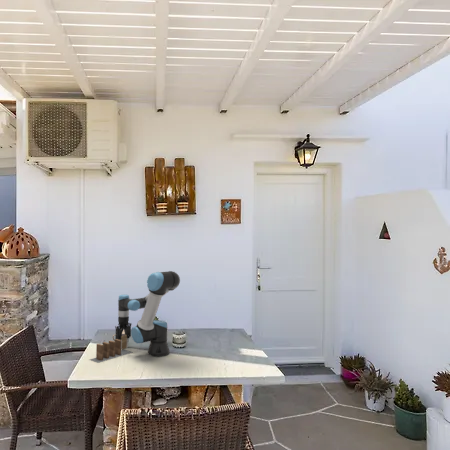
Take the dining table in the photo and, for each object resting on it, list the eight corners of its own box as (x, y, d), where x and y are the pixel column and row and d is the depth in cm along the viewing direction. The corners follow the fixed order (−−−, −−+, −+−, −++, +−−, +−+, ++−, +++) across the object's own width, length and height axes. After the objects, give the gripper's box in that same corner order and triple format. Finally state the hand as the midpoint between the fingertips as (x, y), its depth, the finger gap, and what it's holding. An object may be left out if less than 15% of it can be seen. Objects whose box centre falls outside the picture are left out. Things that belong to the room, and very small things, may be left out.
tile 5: (98, 358, 285) (98, 343, 285) (103, 359, 282) (103, 344, 282) (96, 359, 284) (96, 344, 284) (100, 360, 281) (101, 345, 281)
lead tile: (126, 348, 310) (126, 334, 310) (121, 350, 306) (121, 336, 306) (124, 348, 311) (125, 334, 311) (119, 349, 307) (119, 335, 307)
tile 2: (116, 353, 297) (116, 338, 297) (120, 354, 294) (121, 340, 294) (114, 353, 296) (114, 339, 296) (118, 355, 293) (119, 340, 293)
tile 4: (104, 356, 289) (104, 342, 289) (109, 358, 286) (109, 343, 286) (102, 357, 288) (102, 342, 288) (107, 358, 285) (107, 343, 285)
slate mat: (133, 353, 300) (133, 352, 300) (98, 363, 276) (98, 362, 276) (124, 350, 306) (124, 349, 306) (88, 360, 282) (88, 359, 282)
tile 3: (110, 354, 293) (110, 340, 293) (115, 356, 290) (115, 341, 290) (108, 355, 292) (108, 341, 292) (113, 356, 289) (113, 342, 289)
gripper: (129, 313, 318) (129, 344, 318) (110, 317, 303) (109, 349, 303) (136, 314, 313) (136, 346, 313) (117, 318, 299) (116, 351, 299)
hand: (123, 347), depth 308 cm, fingers closed on lead tile, 5 cm apart
